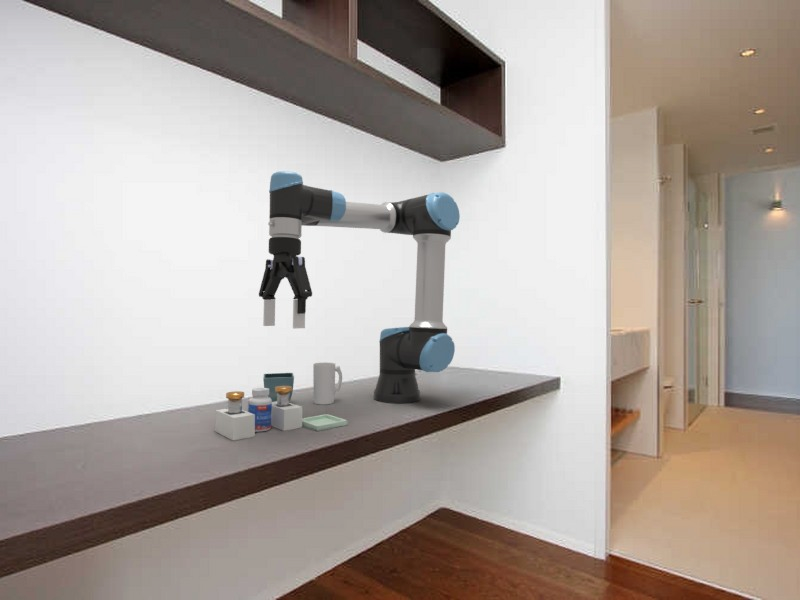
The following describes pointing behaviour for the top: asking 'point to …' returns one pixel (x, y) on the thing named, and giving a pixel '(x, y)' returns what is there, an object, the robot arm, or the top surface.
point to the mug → (325, 382)
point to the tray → (323, 422)
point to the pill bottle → (261, 408)
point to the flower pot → (278, 383)
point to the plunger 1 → (234, 402)
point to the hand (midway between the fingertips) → (283, 327)
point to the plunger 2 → (283, 395)
